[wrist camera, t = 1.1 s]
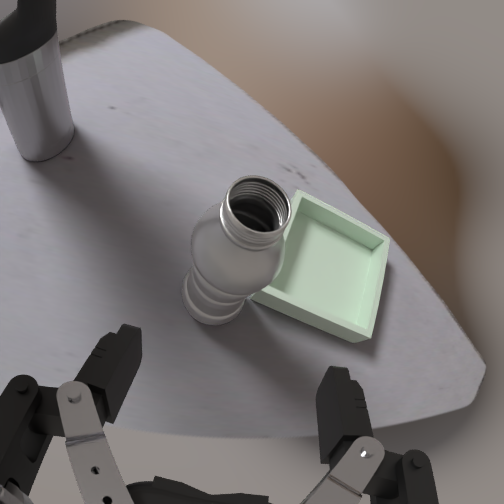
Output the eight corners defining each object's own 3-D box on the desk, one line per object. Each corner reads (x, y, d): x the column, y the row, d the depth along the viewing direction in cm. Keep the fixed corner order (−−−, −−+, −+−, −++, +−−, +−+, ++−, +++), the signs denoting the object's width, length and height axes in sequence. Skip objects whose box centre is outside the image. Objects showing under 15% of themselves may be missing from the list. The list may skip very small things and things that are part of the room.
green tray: (249, 298, 36) (259, 289, 32) (287, 204, 42) (297, 189, 39) (353, 343, 36) (371, 338, 33) (374, 249, 43) (389, 238, 39)
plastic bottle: (222, 261, 36) (277, 143, 19) (250, 314, 35) (338, 236, 17) (170, 283, 34) (177, 170, 16) (197, 339, 32) (235, 284, 15)
